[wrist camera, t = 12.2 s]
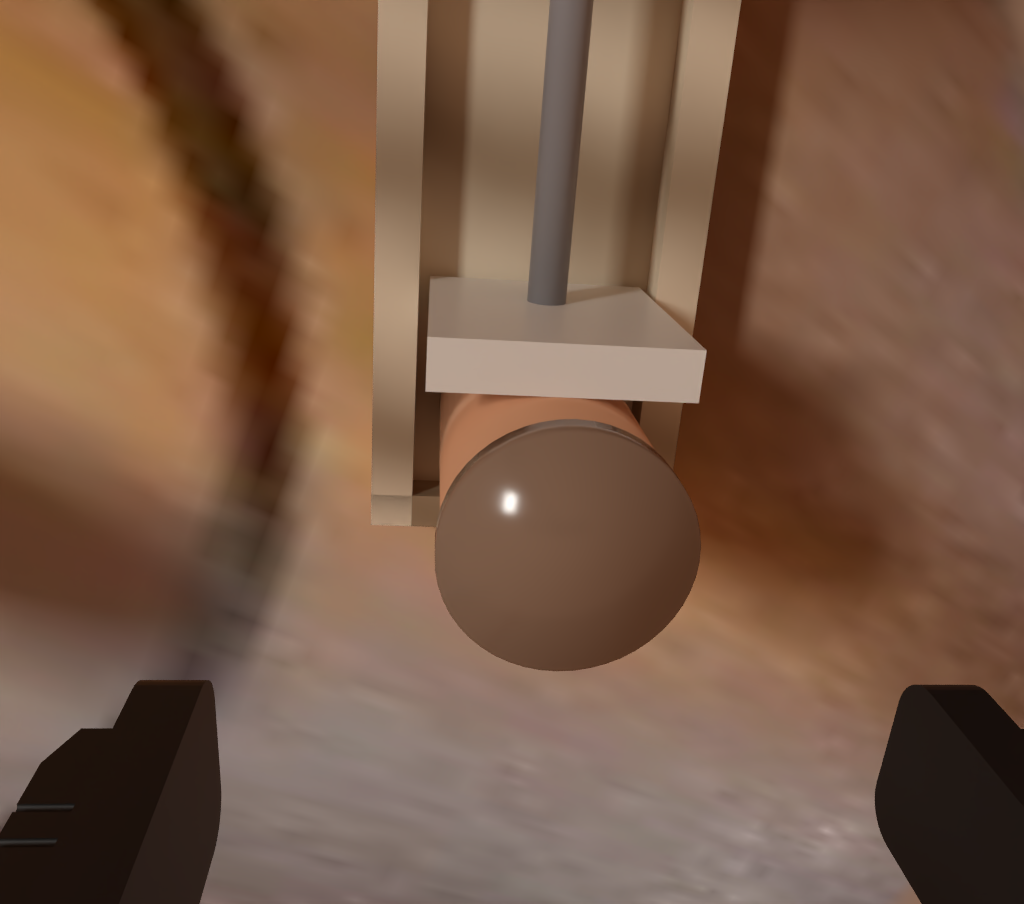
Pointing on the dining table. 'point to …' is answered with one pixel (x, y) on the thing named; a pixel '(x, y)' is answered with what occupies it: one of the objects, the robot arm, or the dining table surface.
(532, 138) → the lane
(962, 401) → the dining table surface
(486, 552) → the jar
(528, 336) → the pusher
